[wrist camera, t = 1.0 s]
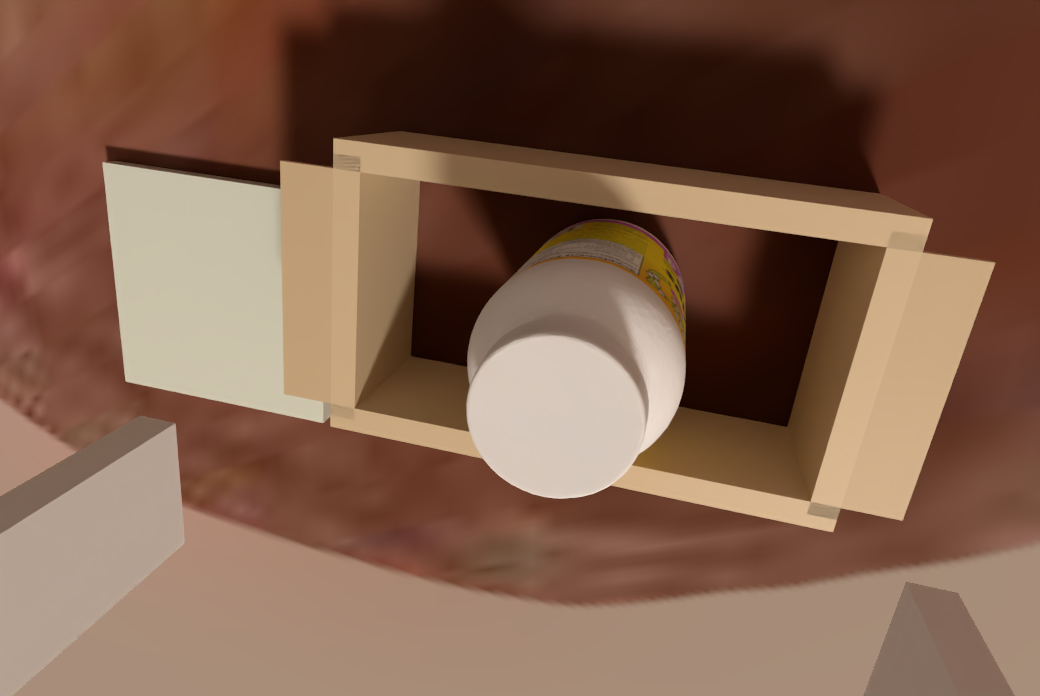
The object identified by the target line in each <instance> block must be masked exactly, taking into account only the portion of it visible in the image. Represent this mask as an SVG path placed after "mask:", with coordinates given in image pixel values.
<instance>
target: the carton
mask: <svg viewBox="0 0 1040 696" xmlns="http://www.w3.org/2000/svg"><path fill="white" fill-rule="evenodd" d="M420 181H426V182H433V183H440V184H447V185H454V186H461V187H468V188H475V189H482V190H489V191H496V192H503V193H510V194H517V195H524V196H531V197H538V198H545V199H552V200H559V201H566V202H573V203H580V204H587V205H594V206H601V207H608V208H615V209H622V210H629V211H636V212H643V213H650V214H657V215H664V216H671V217H678V218H685V219H692V220H699V221H706V222H713V223H720V224H727V225H734V226H741V227H748V228H755V229H762V230H769V231H776V232H783V233H790V234H797V235H804V236H811V237H818V238H825V239H832V240H838V244H837V247H836V251H835V255H834V258H833V262H832V265H831V269H830V273H829V276H828V280H827V284H826V287H825V291H824V295H823V298H822V302H821V306H820V309H819V313H818V317H817V320H816V324H815V327H814V331H813V335H812V338H811V342H810V346H809V349H808V353H807V357H806V360H805V364H804V368H803V371H802V375H801V379H800V382H799V386H798V390H797V393H796V397H795V400H794V404H793V408H792V411H791V415H790V419H789V422H788V426H787V427H785V426H779V425H774V424H769V423H763V422H758V421H753V420H748V419H742V418H737V417H732V416H726V415H721V414H716V413H710V412H705V411H700V410H694V409H689V408H684V407H678V408H677V411H676V413H675V415H674V417H673V418H672V420H671V422H670V424H669V425H668V427H667V428H666V430H665V431H664V432H663V433H662V434H661V436H660V437H659V438H658V439H657V440H656V441H655V442H654V443H653V444H652V445H651V446H649V447H648V448H647V449H646V450H644V451H643V452H641V453H640V454H638V456H637V458H636V459H635V461H634V462H633V464H632V465H631V467H630V468H629V469H628V471H627V472H626V473H625V474H624V475H623V476H622V477H621V478H619V479H618V480H617V481H616V482H614V483H613V484H611V486H616V487H621V488H626V489H630V490H635V491H640V492H645V493H649V494H654V495H659V496H664V497H668V498H673V499H678V500H683V501H687V502H692V503H697V504H701V505H706V506H711V507H716V508H720V509H725V510H730V511H735V512H739V513H744V514H749V515H754V516H758V517H763V518H768V519H773V520H777V521H782V522H787V523H792V524H796V525H801V526H806V527H811V528H815V529H820V530H825V531H830V532H833V531H834V527H835V524H836V521H837V518H838V515H839V512H840V509H841V508H843V509H848V510H853V511H858V512H863V513H868V514H873V515H877V516H882V517H887V518H892V519H897V520H902V521H903V518H904V515H905V512H906V509H907V507H908V504H909V501H910V498H911V496H912V493H913V490H914V487H915V484H916V482H917V479H918V476H919V473H920V471H921V468H922V465H923V462H924V459H925V457H926V454H927V451H928V448H929V446H930V443H931V440H932V437H933V434H934V432H935V429H936V426H937V423H938V421H939V418H940V415H941V412H942V409H943V407H944V404H945V401H946V398H947V396H948V393H949V390H950V387H951V385H952V382H953V379H954V376H955V373H956V371H957V368H958V365H959V362H960V360H961V357H962V354H963V351H964V348H965V346H966V343H967V340H968V337H969V335H970V332H971V329H972V326H973V323H974V321H975V318H976V315H977V312H978V310H979V307H980V304H981V301H982V298H983V296H984V293H985V290H986V287H987V285H988V282H989V279H990V276H991V273H992V271H993V268H994V265H995V262H993V261H990V260H983V259H976V258H969V257H962V256H955V255H948V254H941V253H934V252H927V251H923V249H924V246H925V243H926V240H927V237H928V234H929V231H930V227H931V224H932V221H933V219H932V218H930V217H928V216H926V215H924V214H921V213H919V212H917V211H915V210H913V209H911V208H909V207H907V206H905V205H903V204H901V203H899V202H897V201H894V200H892V199H890V198H888V197H886V196H884V195H882V194H878V193H871V192H863V191H855V190H848V189H840V188H833V187H825V186H817V185H810V184H802V183H794V182H787V181H779V180H771V179H764V178H756V177H748V176H741V175H733V174H725V173H718V172H710V171H703V170H695V169H687V168H680V167H672V166H664V165H657V164H649V163H641V162H634V161H626V160H618V159H611V158H603V157H595V156H588V155H580V154H572V153H565V152H557V151H550V150H542V149H534V148H527V147H519V146H511V145H504V144H496V143H488V142H481V141H473V140H465V139H458V138H450V137H442V136H435V135H427V134H420V133H412V132H404V131H395V132H386V133H377V134H368V135H358V136H349V137H340V138H333V167H330V166H323V165H316V164H309V163H302V162H295V161H288V160H282V161H280V184H281V245H282V305H283V366H284V394H286V395H291V396H296V397H301V398H306V399H311V400H316V401H321V402H325V403H330V404H331V427H336V428H341V429H345V430H350V431H355V432H360V433H364V434H369V435H374V436H379V437H383V438H388V439H393V440H398V441H402V442H407V443H412V444H417V445H421V446H426V447H431V448H436V449H440V450H445V451H450V452H455V453H459V454H464V455H469V456H474V457H478V458H482V456H481V455H480V453H479V452H478V450H477V448H476V446H475V444H474V442H473V440H472V437H471V434H470V432H469V427H468V423H467V415H466V401H467V395H468V390H469V387H470V384H469V379H468V370H467V367H466V366H461V365H455V364H450V363H445V362H439V361H434V360H429V359H424V358H418V357H413V356H411V343H412V324H413V306H414V287H415V269H416V251H417V232H418V214H419V195H420Z"/></svg>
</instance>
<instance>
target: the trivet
mask: <svg viewBox="0 0 1040 696" xmlns="http://www.w3.org/2000/svg"><path fill="white" fill-rule="evenodd" d="M103 171H104V181H105V190H106V200H107V209H108V219H109V228H110V238H111V247H112V257H113V266H114V276H115V285H116V295H117V304H118V313H119V323H120V332H121V342H122V351H123V361H124V370H125V380H126V382H131V383H135V384H140V385H145V386H150V387H154V388H159V389H164V390H169V391H173V392H178V393H183V394H188V395H192V396H197V397H202V398H207V399H211V400H216V401H221V402H226V403H230V404H235V405H240V406H245V407H250V408H254V409H259V410H264V411H269V412H273V413H278V414H283V415H288V416H292V417H297V418H302V419H307V420H311V421H316V422H321V423H324V422H325V421H326V420H327V419H328V418H329V417H330V416H331V404H330V403H325V402H321V401H316V400H311V399H306V398H301V397H296V396H291V395H286V394H284V366H283V305H282V245H281V185H274V184H267V183H261V182H254V181H247V180H241V179H234V178H227V177H221V176H214V175H207V174H200V173H194V172H187V171H180V170H174V169H167V168H160V167H154V166H147V165H140V164H134V163H127V162H120V161H109V162H103Z"/></svg>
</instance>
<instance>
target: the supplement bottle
mask: <svg viewBox="0 0 1040 696" xmlns="http://www.w3.org/2000/svg"><path fill="white" fill-rule="evenodd" d="M685 313H686V310H685V291H684V284H683V280H682V276H681V273H680V270H679V268H678V265H677V263H676V261H675V260H674V258H673V256H672V255H671V253H670V252H669V251H668V249H667V248H666V247H665V246H664V245H663V244H662V243H661V242H660V241H659V240H658V239H657V238H656V237H655V236H653V235H652V234H651V233H649V232H648V231H646V230H644V229H643V228H641V227H639V226H636V225H634V224H631V223H628V222H625V221H620V220H613V219H593V220H587V221H583V222H580V223H577V224H574V225H572V226H569V227H567V228H565V229H564V230H562V231H560V232H559V233H557V234H556V235H554V236H553V237H552V238H551V239H549V240H548V241H547V242H546V243H545V244H544V245H543V246H542V247H541V248H540V249H539V250H538V251H537V252H536V253H535V254H534V255H533V256H532V257H531V258H530V259H529V260H528V261H527V262H526V263H525V264H524V265H523V266H522V267H521V268H520V269H519V270H518V271H517V272H516V273H515V274H514V275H513V276H512V277H511V278H510V279H509V280H508V281H507V282H506V283H505V284H504V285H503V286H502V287H501V288H500V289H499V290H498V291H497V292H496V293H495V294H494V295H493V296H492V297H491V298H490V300H489V301H488V302H487V304H486V305H485V307H484V308H483V310H482V311H481V313H480V315H479V317H478V319H477V321H476V323H475V325H474V328H473V331H472V334H471V338H470V342H469V347H468V356H467V370H468V379H469V384H470V387H469V390H468V395H467V401H466V415H467V423H468V427H469V432H470V434H471V437H472V440H473V442H474V444H475V446H476V448H477V450H478V452H479V453H480V455H481V456H482V458H483V459H484V460H485V462H486V463H487V464H488V465H489V466H490V467H491V468H492V469H493V470H494V471H495V472H496V473H497V474H498V475H499V476H500V477H501V478H503V479H504V480H506V481H507V482H509V483H510V484H512V485H514V486H516V487H518V488H519V489H521V490H524V491H526V492H529V493H532V494H535V495H539V496H543V497H550V498H575V497H582V496H586V495H590V494H593V493H596V492H598V491H601V490H603V489H605V488H607V487H608V486H610V485H611V484H613V483H614V482H616V481H617V480H618V479H619V478H621V477H622V476H623V475H624V474H625V473H626V472H627V471H628V469H629V468H630V467H631V465H632V464H633V462H634V461H635V459H636V458H637V456H638V454H640V453H641V452H643V451H644V450H646V449H647V448H648V447H649V446H651V445H652V444H653V443H654V442H655V441H656V440H657V439H658V438H659V437H660V436H661V434H662V433H663V432H664V431H665V430H666V428H667V427H668V425H669V424H670V422H671V420H672V418H673V417H674V415H675V413H676V411H677V408H678V406H679V403H680V400H681V397H682V394H683V389H684V383H685V374H686V351H685V348H686V344H685V340H686V333H685V332H686V316H685Z"/></svg>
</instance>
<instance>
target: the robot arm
mask: <svg viewBox="0 0 1040 696" xmlns="http://www.w3.org/2000/svg"><path fill="white" fill-rule="evenodd" d="M184 543H185V536H184V524H183V512H182V499H181V487H180V475H179V462H178V450H177V438H176V425H175V423H172V422H167V421H162V420H158V419H153V418H149V417H144V416H139V417H137V418H135V419H134V420H132V421H130V422H128V423H127V424H125V425H123V426H121V427H120V428H118V429H116V430H115V431H113V432H111V433H109V434H108V435H106V436H104V437H102V438H101V439H99V440H97V441H96V442H94V443H92V444H90V445H89V446H87V447H85V448H83V449H82V450H80V451H78V452H76V453H75V454H73V455H71V456H70V457H68V458H66V459H64V460H63V461H61V462H59V463H57V464H56V465H54V466H52V467H51V468H49V469H47V470H46V471H44V472H42V473H40V474H39V475H37V476H35V477H33V478H32V479H30V480H28V481H26V482H25V483H23V484H21V485H19V486H18V487H16V488H14V489H12V490H11V491H9V492H7V493H6V494H4V495H2V496H0V696H12V695H13V694H15V693H16V692H17V691H18V690H19V689H20V688H21V687H23V686H24V685H25V684H26V683H27V682H28V681H29V680H30V679H31V678H33V677H34V676H35V675H36V674H37V673H38V672H39V671H41V670H42V669H43V668H44V667H45V666H46V665H47V664H48V663H50V662H51V661H52V660H53V659H54V658H55V657H56V656H58V655H59V654H60V653H61V652H62V651H63V650H64V649H65V648H67V647H68V646H69V645H70V644H71V643H72V642H73V641H75V640H76V639H77V638H78V637H79V636H80V635H81V634H82V633H84V632H85V631H86V630H87V629H88V628H89V627H90V626H92V624H94V623H95V622H96V621H97V620H98V619H99V618H100V617H102V616H103V615H104V614H105V613H106V612H107V611H108V610H109V609H111V608H112V607H113V606H114V605H115V604H116V603H118V602H119V601H120V600H121V599H122V598H123V597H124V596H125V595H126V594H127V593H129V592H130V591H131V590H132V589H133V588H135V587H136V586H137V585H138V584H139V583H140V582H141V581H142V580H143V579H145V578H146V577H147V576H148V575H149V574H150V573H152V572H153V571H154V570H155V569H156V568H157V567H158V566H159V565H160V564H162V563H163V562H164V561H165V560H166V559H167V558H168V557H170V555H172V554H173V553H174V552H175V551H176V550H178V549H179V548H180V547H181V546H182V545H183V544H184ZM864 696H1014V694H1013V692H1012V690H1011V688H1010V686H1009V685H1008V683H1007V681H1006V679H1005V678H1004V676H1003V674H1002V672H1001V670H1000V668H999V667H998V665H997V663H996V661H995V659H994V658H993V656H992V654H991V652H990V650H989V649H988V647H987V645H986V643H985V641H984V640H983V638H982V636H981V634H980V632H979V630H978V629H977V627H976V625H975V623H974V621H973V620H972V618H971V616H970V614H969V613H968V610H967V609H966V607H965V605H964V603H963V601H962V600H961V598H960V596H959V594H958V593H955V592H950V591H946V590H941V589H937V588H932V587H927V586H923V585H918V584H914V583H909V582H906V583H905V586H904V589H903V592H902V594H901V597H900V600H899V602H898V605H897V608H896V610H895V613H894V616H893V618H892V621H891V624H890V627H889V629H888V632H887V635H886V637H885V640H884V642H883V645H882V648H881V650H880V653H879V656H878V659H877V661H876V664H875V667H874V669H873V672H872V675H871V677H870V680H869V683H868V685H867V688H866V691H865V693H864Z"/></svg>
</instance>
